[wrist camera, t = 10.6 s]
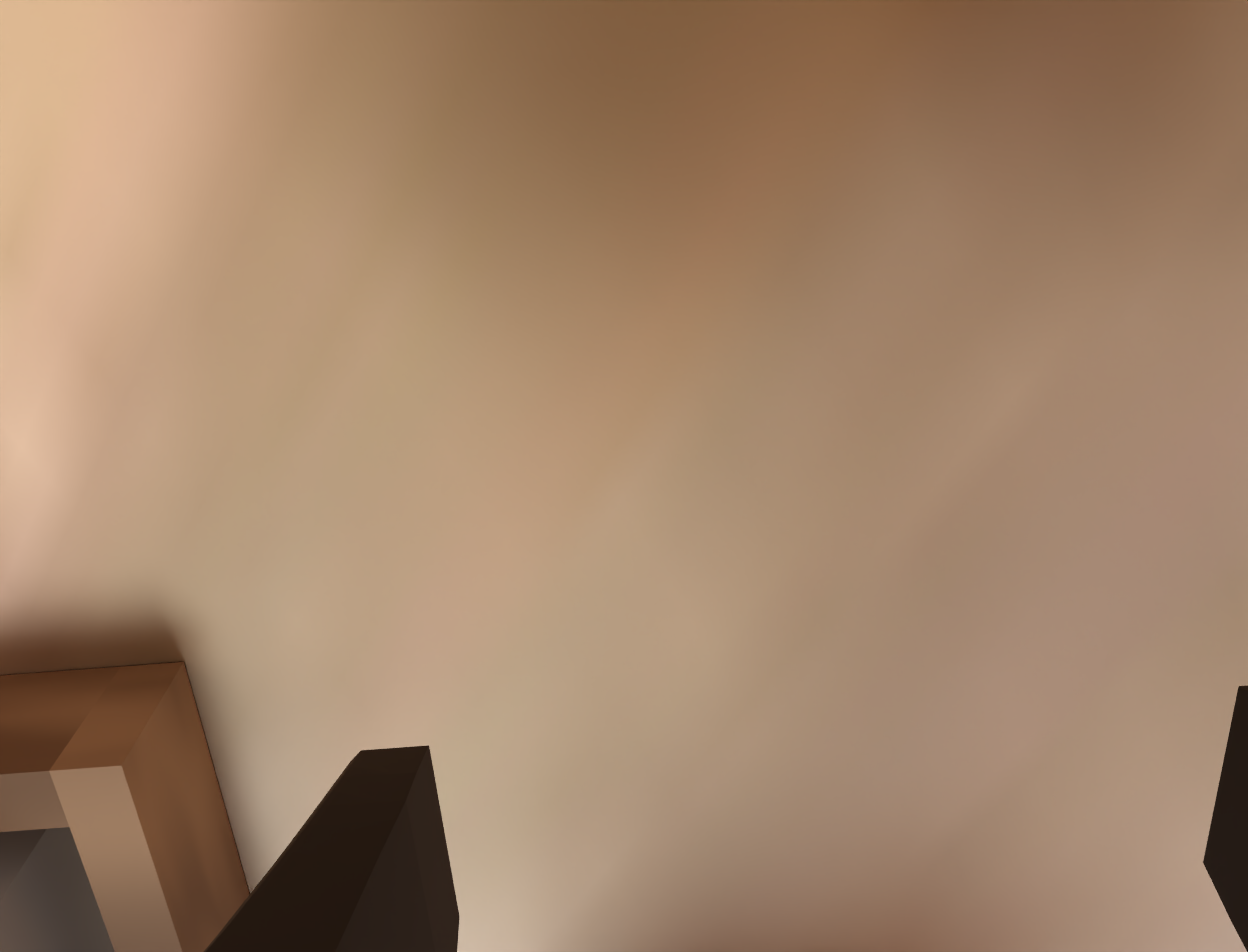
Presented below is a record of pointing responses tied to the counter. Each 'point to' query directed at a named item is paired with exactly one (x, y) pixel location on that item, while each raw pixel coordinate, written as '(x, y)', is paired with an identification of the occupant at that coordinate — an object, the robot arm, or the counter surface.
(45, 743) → the frame
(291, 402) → the counter surface
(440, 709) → the counter surface
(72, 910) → the slate peg
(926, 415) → the counter surface
